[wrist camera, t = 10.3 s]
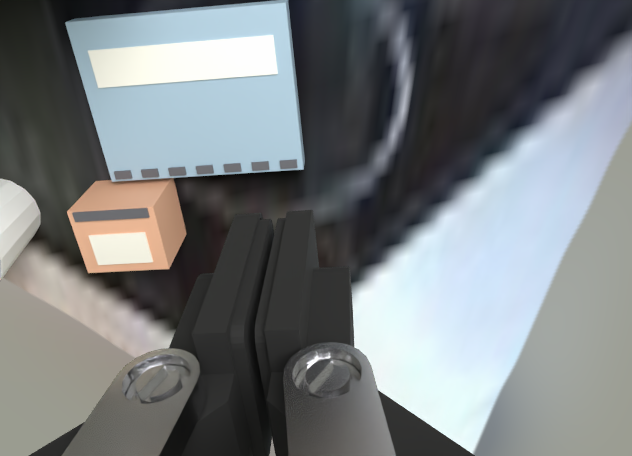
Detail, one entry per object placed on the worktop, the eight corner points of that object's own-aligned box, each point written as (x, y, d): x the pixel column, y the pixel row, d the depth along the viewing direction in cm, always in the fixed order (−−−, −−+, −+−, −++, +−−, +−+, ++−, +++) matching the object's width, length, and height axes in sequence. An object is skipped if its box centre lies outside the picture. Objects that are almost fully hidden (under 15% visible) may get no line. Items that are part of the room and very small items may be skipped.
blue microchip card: (75, 18, 36) (63, 22, 34) (287, -1, 35) (285, 3, 33) (119, 173, 41) (111, 182, 40) (304, 161, 40) (303, 170, 39)
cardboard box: (95, 181, 41) (66, 212, 37) (172, 176, 41) (152, 207, 37) (113, 237, 44) (87, 274, 39) (186, 233, 43) (168, 270, 39)
